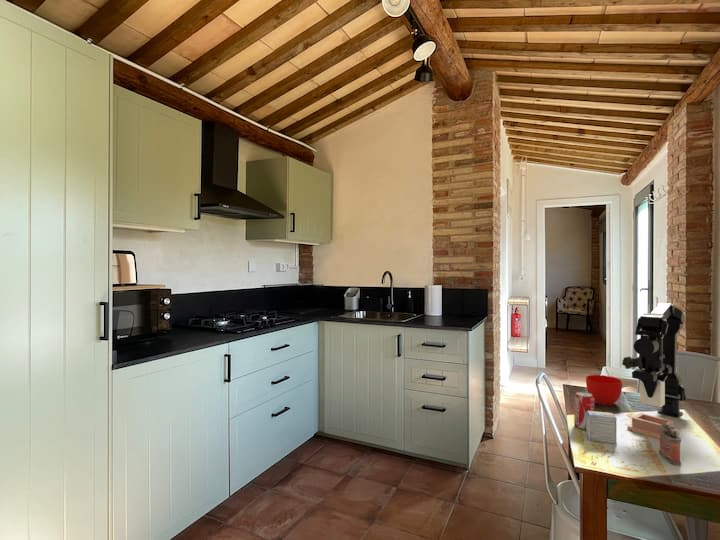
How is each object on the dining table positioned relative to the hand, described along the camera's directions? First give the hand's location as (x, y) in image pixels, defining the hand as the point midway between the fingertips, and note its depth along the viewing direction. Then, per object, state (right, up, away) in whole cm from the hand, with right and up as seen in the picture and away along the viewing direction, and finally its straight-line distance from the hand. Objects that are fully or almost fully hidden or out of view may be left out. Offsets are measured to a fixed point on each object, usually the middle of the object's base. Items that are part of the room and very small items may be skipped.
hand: (652, 396), depth 136 cm
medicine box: (-22, -13, -6) cm, 26 cm away
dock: (0, -12, 0) cm, 12 cm away
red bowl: (+1, -12, +31) cm, 33 cm away
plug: (0, -3, 0) cm, 3 cm away
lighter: (-9, -13, -19) cm, 25 cm away
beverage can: (-21, -13, +4) cm, 25 cm away
